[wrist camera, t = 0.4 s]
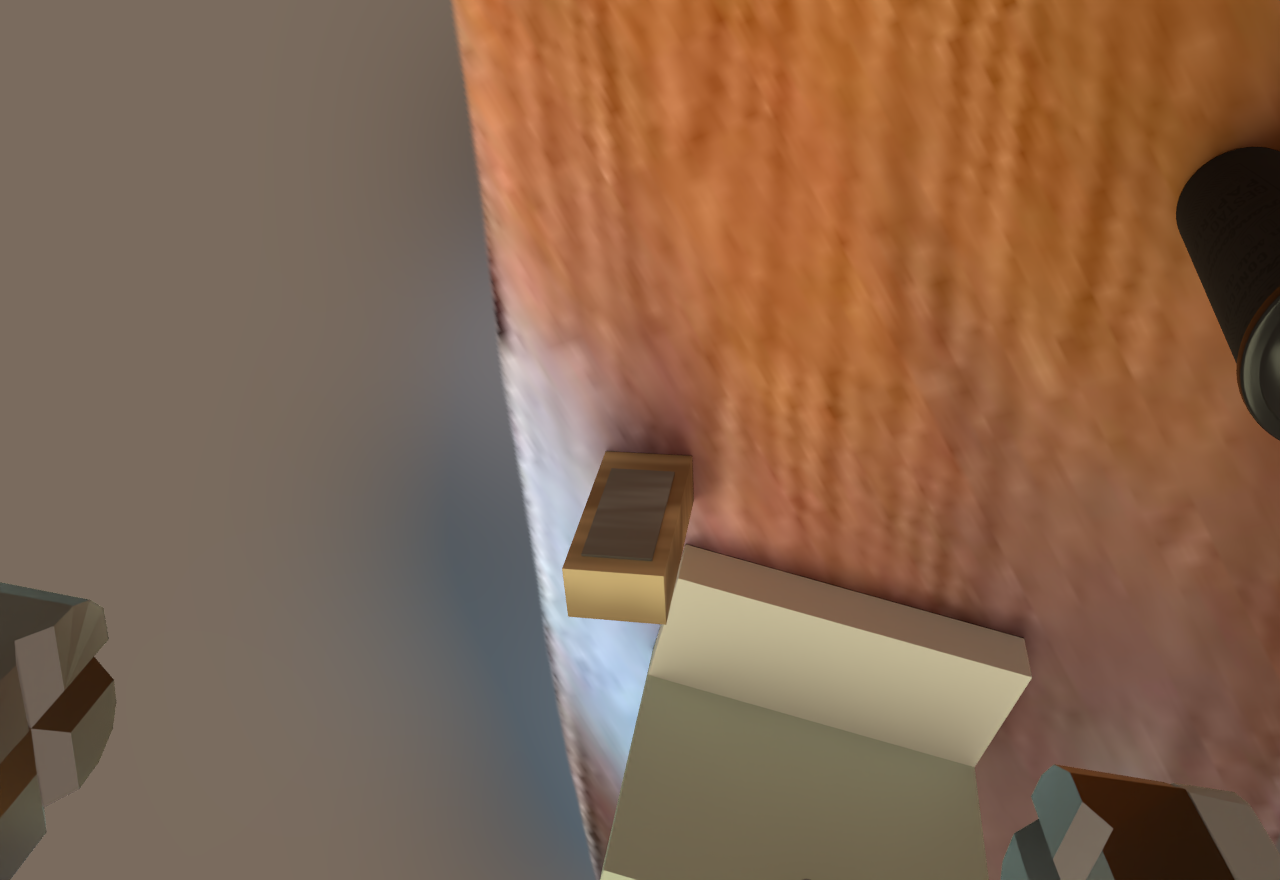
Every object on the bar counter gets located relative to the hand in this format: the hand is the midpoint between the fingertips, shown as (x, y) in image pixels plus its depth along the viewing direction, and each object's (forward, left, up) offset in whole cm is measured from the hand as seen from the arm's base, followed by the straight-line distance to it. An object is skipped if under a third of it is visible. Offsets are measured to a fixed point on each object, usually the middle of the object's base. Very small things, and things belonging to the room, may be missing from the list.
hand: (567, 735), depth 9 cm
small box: (+26, 0, -39) cm, 46 cm away
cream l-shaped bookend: (+34, +13, -39) cm, 53 cm away
